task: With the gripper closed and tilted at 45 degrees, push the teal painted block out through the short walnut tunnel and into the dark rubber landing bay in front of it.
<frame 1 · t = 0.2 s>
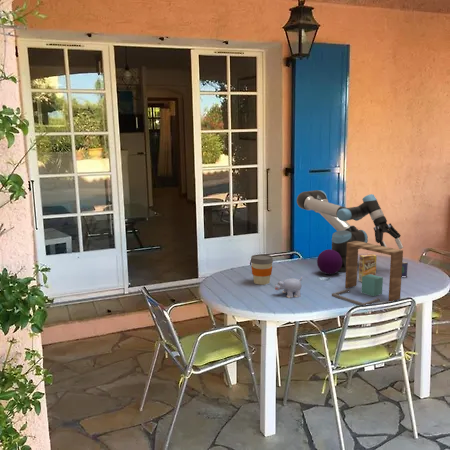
hand: (394, 250, 290), 16 cm above the table, tool tilted 35°, fingers open, 13 cm apart
hippopotamus toy: (288, 294, 261), on the table
teal block: (371, 293, 262), on the table
candy box: (366, 281, 283), on the table
toy ball: (329, 274, 298), on the table
tunnel: (371, 293, 262), on the table
landing bay: (356, 298, 254), on the table
reusable coffee cup: (261, 282, 282), on the table
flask: (399, 277, 290), on the table
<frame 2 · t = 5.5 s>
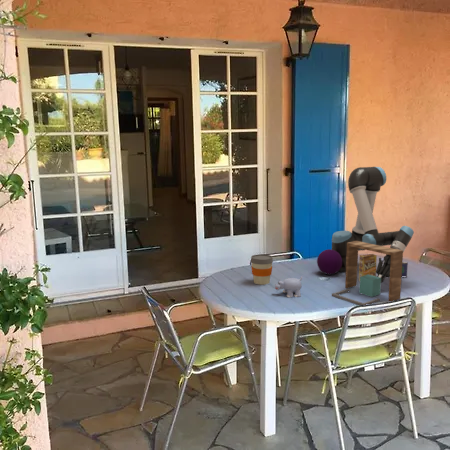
hand: (376, 285, 263), 3 cm above the table, tool tilted 45°, fingers closed
teal block: (369, 293, 261), on the table, touching gripper
everything else where it was.
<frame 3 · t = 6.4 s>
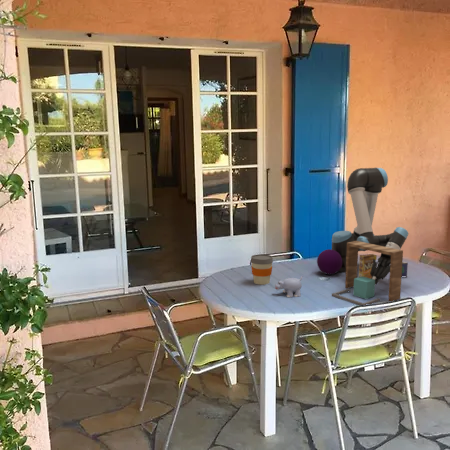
hand: (370, 287, 260), 3 cm above the table, tool tilted 45°, fingers closed
teal block: (363, 295, 258), on the table, touching gripper
everything else where it was.
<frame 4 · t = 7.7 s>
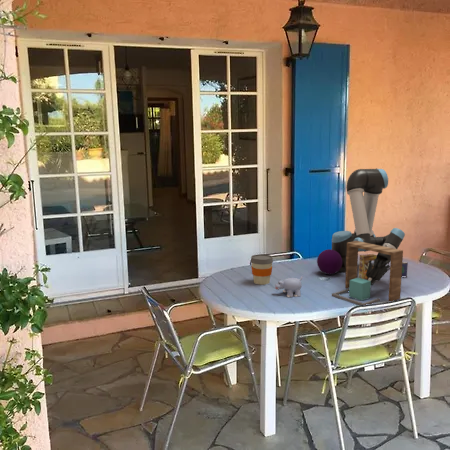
hand: (365, 289, 258), 3 cm above the table, tool tilted 45°, fingers closed
teal block: (359, 297, 256), on the table
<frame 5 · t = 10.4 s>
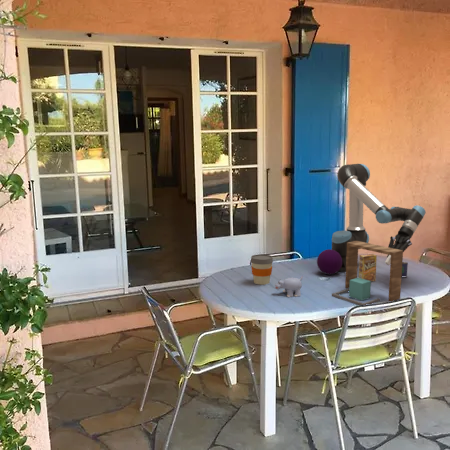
hand: (386, 263, 267), 14 cm above the table, tool tilted 45°, fingers closed
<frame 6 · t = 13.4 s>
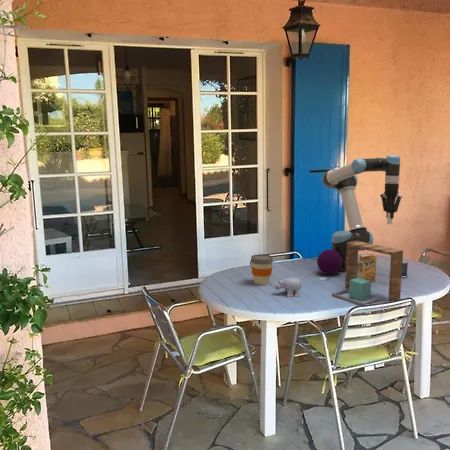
hand: (389, 223, 282), 32 cm above the table, tool pointing down, fingers closed
at the end: teal block inside the target area (2.8 cm from its centre), on the table; teal block tilted 0°; teal block touching table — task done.
